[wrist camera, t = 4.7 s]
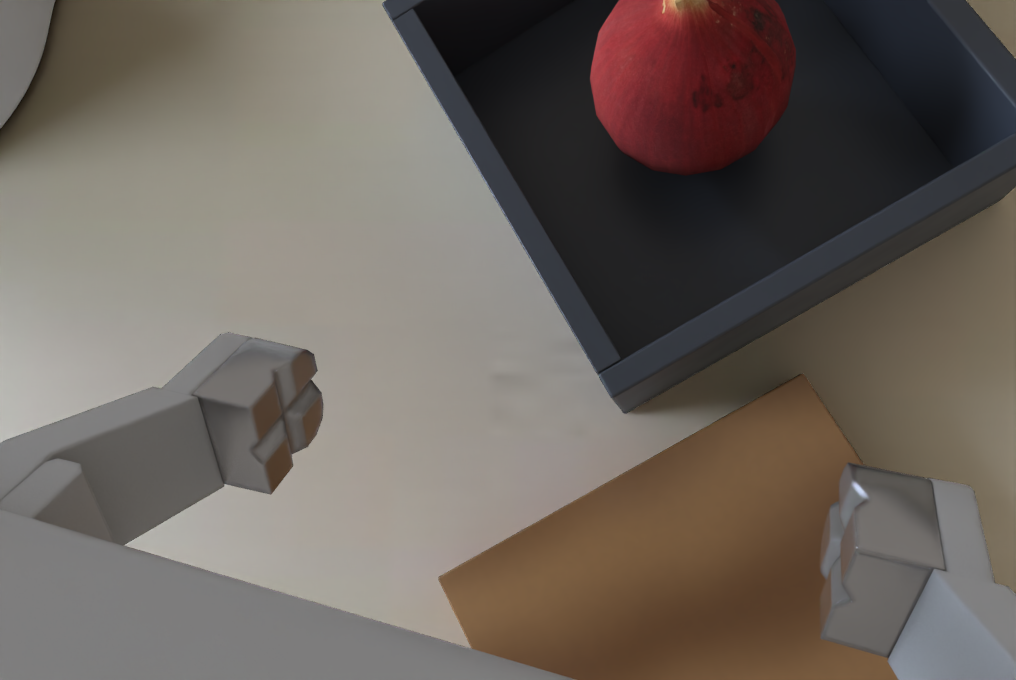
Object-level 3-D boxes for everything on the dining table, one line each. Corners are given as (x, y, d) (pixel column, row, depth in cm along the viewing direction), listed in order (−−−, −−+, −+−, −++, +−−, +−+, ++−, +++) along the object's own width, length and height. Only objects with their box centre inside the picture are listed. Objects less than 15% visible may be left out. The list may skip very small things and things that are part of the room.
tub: (429, 80, 30) (380, 2, 25) (747, -122, 28) (760, -245, 24) (624, 414, 26) (611, 399, 21) (1001, 199, 25) (1079, 131, 20)
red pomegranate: (791, 58, 26) (838, -118, 19) (761, 220, 26) (796, 107, 18) (621, 42, 28) (598, -127, 20) (587, 196, 27) (550, 81, 19)
